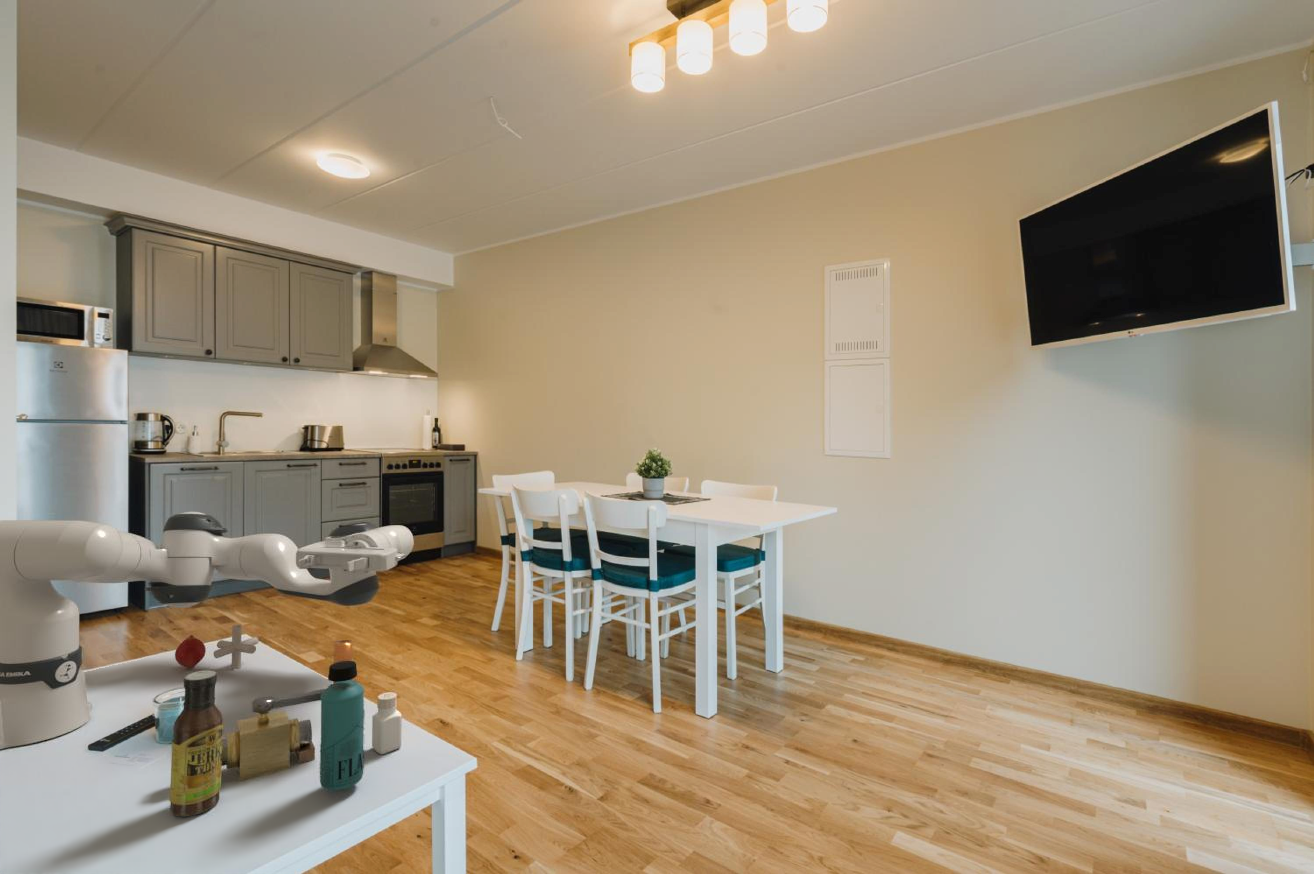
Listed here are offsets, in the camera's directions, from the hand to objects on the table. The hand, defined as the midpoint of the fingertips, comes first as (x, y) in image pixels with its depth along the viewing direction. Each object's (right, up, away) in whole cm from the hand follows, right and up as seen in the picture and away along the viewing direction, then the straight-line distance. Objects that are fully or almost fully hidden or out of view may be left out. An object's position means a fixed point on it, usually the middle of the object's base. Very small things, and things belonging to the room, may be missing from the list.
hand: (323, 565), depth 125 cm
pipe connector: (-33, -29, +25) cm, 51 cm away
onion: (-44, -29, +24) cm, 58 cm away
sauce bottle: (-4, -30, -29) cm, 43 cm away
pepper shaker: (+17, -31, -11) cm, 37 cm away
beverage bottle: (+15, -31, -24) cm, 42 cm away
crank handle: (+4, -20, -15) cm, 26 cm away
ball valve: (-2, -30, -19) cm, 36 cm away
